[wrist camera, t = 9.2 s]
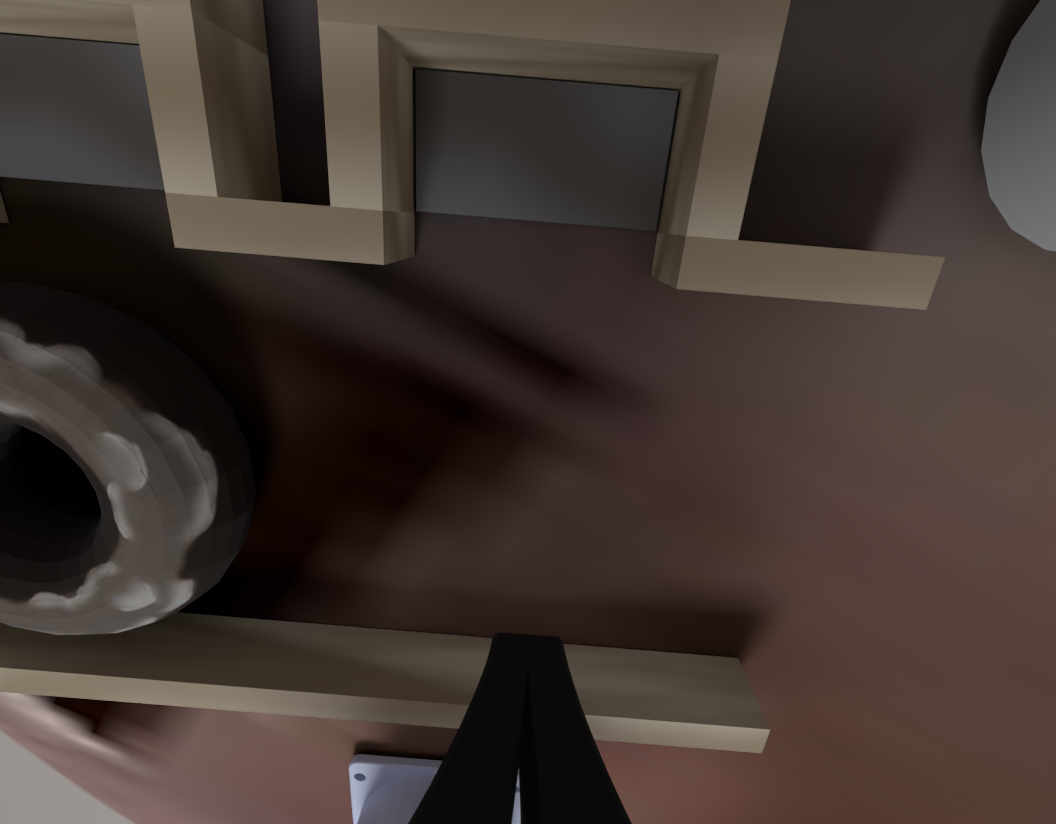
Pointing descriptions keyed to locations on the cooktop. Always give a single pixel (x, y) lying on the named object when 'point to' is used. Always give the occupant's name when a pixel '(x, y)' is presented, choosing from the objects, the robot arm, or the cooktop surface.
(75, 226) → the cooktop surface
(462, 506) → the cooktop surface
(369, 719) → the beige square zigzag bar
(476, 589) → the cooktop surface
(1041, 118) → the can
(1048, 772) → the cooktop surface
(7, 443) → the donut
